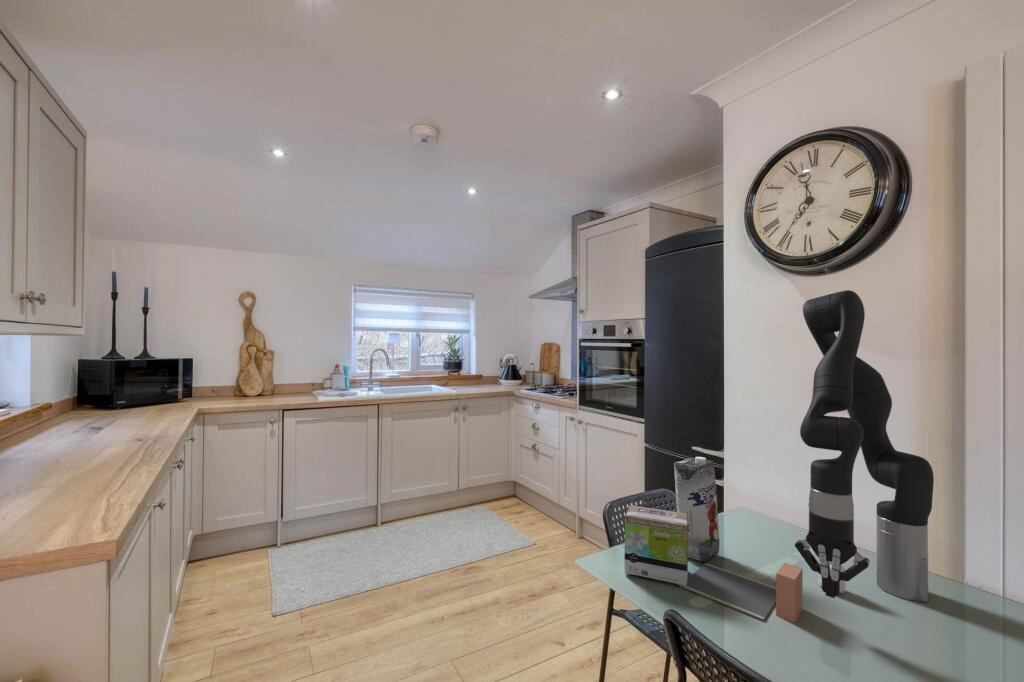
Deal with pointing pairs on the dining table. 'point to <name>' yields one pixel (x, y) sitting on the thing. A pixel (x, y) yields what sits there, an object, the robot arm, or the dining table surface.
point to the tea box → (656, 544)
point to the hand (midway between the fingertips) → (830, 595)
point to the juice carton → (698, 506)
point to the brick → (789, 592)
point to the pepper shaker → (842, 582)
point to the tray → (733, 590)
